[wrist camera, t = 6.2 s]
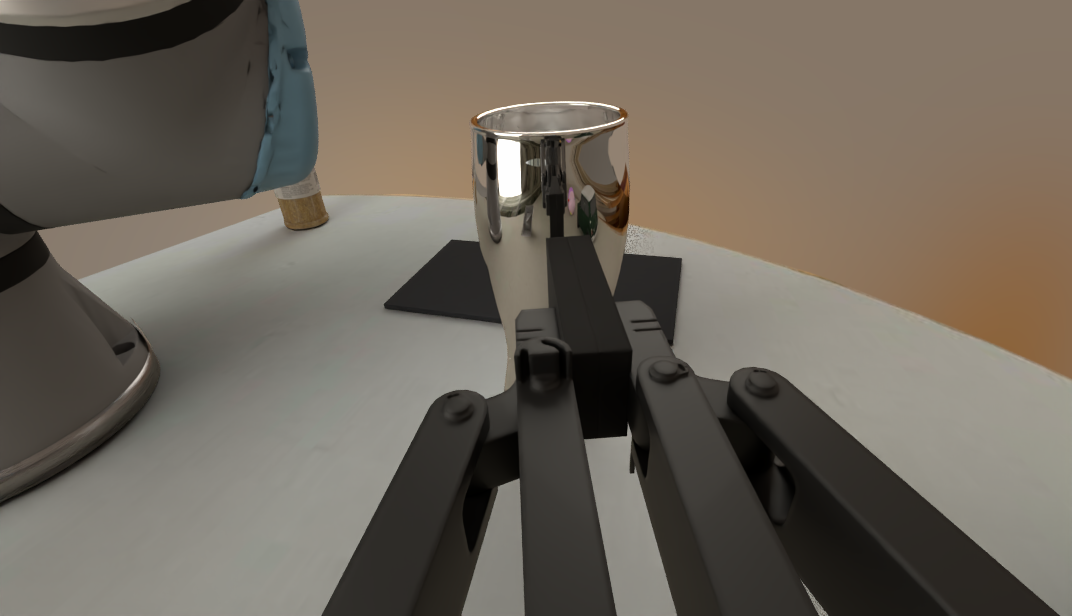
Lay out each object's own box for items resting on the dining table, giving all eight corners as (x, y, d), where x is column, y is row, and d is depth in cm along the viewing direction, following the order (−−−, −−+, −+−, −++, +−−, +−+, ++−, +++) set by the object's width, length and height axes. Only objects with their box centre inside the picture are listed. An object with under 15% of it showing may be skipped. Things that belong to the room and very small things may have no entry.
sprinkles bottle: (290, 218, 55) (247, 86, 48) (332, 213, 56) (296, 83, 49) (281, 233, 51) (232, 93, 44) (327, 228, 52) (286, 89, 45)
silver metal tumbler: (526, 345, 32) (508, 99, 24) (632, 367, 30) (650, 101, 22) (474, 417, 27) (430, 130, 19) (599, 452, 24) (607, 138, 16)
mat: (384, 308, 37) (383, 303, 37) (452, 243, 47) (451, 239, 47) (672, 345, 32) (673, 340, 31) (681, 262, 41) (681, 258, 41)
